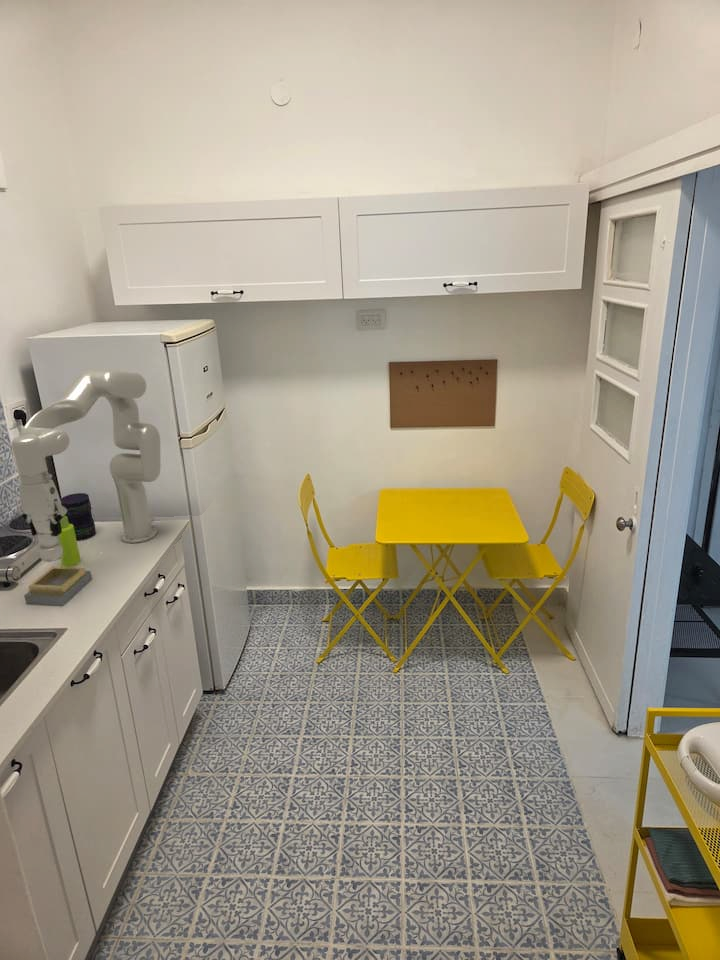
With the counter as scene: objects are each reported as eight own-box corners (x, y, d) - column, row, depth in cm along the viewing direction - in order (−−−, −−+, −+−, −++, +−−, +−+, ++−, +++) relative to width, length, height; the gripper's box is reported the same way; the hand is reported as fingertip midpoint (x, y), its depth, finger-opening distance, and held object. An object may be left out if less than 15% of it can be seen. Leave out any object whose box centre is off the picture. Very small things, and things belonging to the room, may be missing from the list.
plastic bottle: (55, 565, 186) (42, 503, 179) (35, 563, 187) (21, 501, 180) (69, 555, 192) (56, 494, 185) (49, 553, 193) (36, 493, 186)
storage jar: (101, 530, 235) (94, 493, 230) (85, 542, 226) (77, 503, 221) (78, 528, 237) (71, 492, 232) (61, 540, 228) (53, 502, 223)
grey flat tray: (57, 577, 202) (54, 563, 200) (92, 579, 200) (89, 565, 198) (26, 604, 187) (22, 589, 185) (63, 605, 185) (59, 591, 183)
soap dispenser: (58, 561, 212) (46, 507, 205) (80, 557, 215) (69, 503, 208) (58, 568, 207) (45, 513, 200) (80, 564, 210) (69, 509, 203)
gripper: (69, 473, 182) (81, 529, 189) (15, 472, 185) (28, 528, 191) (54, 482, 176) (66, 540, 182) (-2, 481, 178) (12, 538, 184)
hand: (47, 533), depth 186 cm, fingers closed on plastic bottle, 6 cm apart
